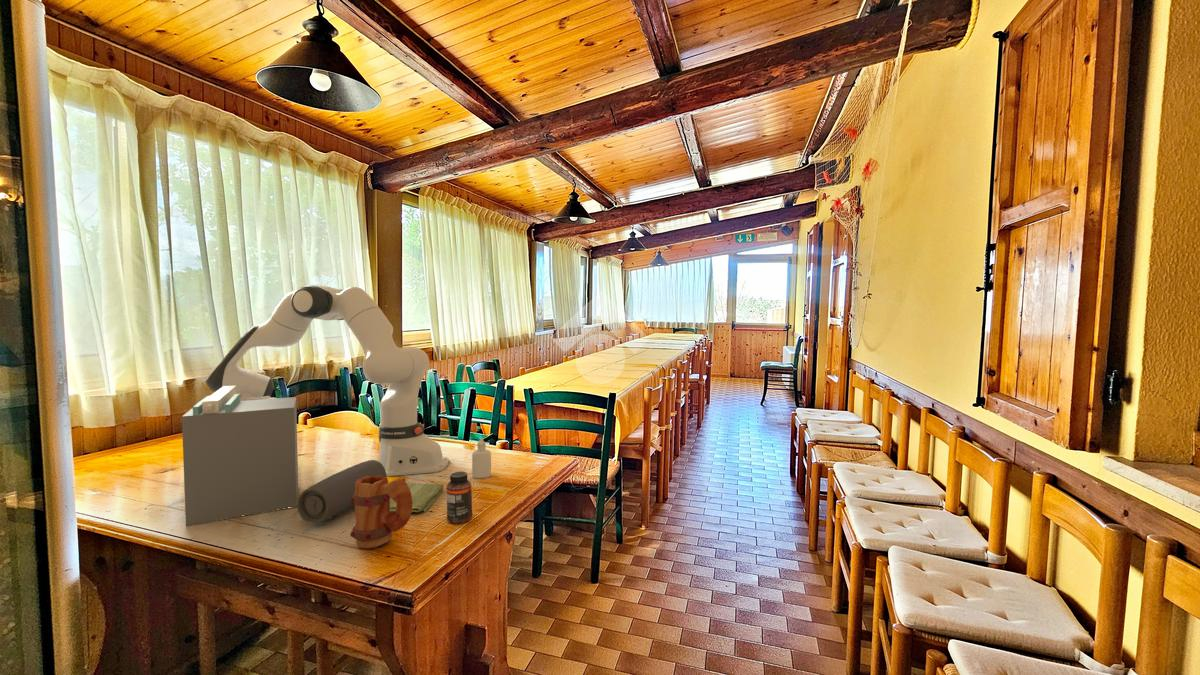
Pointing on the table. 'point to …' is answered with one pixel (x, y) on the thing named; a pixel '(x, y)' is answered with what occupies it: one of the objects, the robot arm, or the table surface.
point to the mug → (379, 509)
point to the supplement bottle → (459, 498)
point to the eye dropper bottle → (481, 461)
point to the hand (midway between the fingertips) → (240, 412)
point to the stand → (240, 459)
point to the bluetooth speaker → (335, 492)
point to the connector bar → (218, 399)
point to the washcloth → (421, 496)
